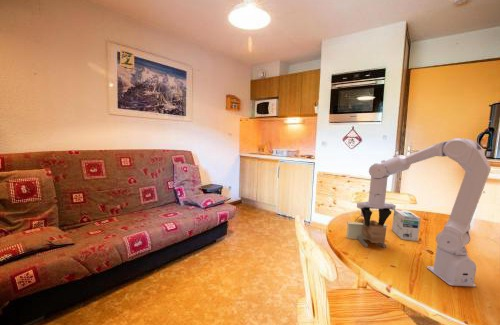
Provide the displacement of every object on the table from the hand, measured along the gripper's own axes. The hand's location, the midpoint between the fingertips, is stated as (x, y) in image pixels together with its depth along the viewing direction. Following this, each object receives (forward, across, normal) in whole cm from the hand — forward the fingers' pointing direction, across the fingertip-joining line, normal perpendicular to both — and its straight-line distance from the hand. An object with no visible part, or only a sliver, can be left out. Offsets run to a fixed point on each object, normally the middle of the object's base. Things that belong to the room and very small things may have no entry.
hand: (373, 225), depth 92 cm
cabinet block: (+5, 0, 0) cm, 5 cm away
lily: (+8, -9, -24) cm, 27 cm away
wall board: (+8, 0, -2) cm, 8 cm away
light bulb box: (+8, -20, -10) cm, 24 cm away
